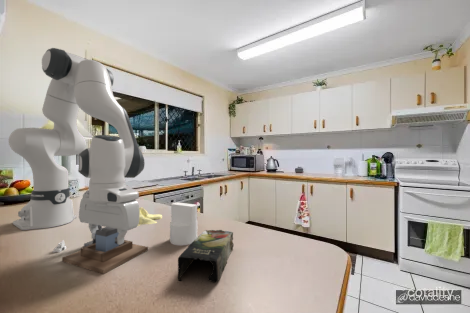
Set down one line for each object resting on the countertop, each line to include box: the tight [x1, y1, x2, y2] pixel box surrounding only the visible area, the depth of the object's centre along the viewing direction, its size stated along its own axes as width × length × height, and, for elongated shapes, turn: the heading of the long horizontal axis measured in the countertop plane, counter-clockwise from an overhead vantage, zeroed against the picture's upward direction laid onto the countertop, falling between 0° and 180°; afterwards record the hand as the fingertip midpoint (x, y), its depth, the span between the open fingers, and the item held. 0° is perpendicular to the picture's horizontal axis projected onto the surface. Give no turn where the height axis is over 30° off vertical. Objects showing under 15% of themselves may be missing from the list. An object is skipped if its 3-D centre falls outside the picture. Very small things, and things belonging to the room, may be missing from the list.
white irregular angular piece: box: [52, 239, 67, 253], centre depth 64 cm, size 3×3×3 cm
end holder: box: [61, 239, 149, 275], centre depth 61 cm, size 16×14×3 cm
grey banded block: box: [96, 226, 119, 252], centre depth 61 cm, size 4×4×6 cm
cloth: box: [137, 206, 163, 227], centre depth 94 cm, size 22×19×6 cm
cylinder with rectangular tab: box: [169, 201, 199, 246], centre depth 72 cm, size 9×9×12 cm
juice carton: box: [177, 229, 234, 283], centre depth 58 cm, size 20×10×6 cm, turn 170°
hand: (107, 241), depth 61 cm, fingers open, 8 cm apart
